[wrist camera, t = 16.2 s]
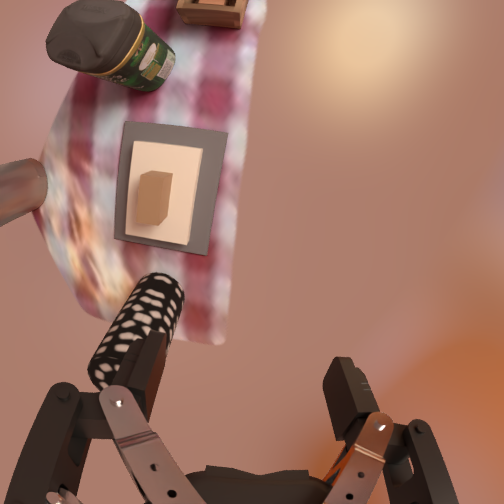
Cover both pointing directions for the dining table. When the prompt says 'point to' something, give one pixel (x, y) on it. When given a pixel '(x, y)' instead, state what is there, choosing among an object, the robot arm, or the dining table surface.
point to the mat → (206, 185)
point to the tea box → (213, 12)
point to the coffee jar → (110, 44)
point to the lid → (162, 191)
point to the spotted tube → (138, 324)
